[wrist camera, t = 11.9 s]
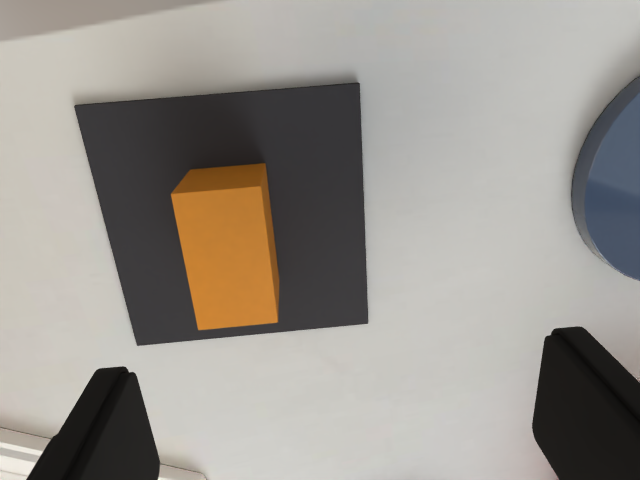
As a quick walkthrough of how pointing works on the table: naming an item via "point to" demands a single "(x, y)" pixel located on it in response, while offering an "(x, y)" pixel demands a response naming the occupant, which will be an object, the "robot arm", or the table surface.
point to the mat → (232, 150)
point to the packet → (228, 245)
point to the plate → (612, 184)
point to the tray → (24, 451)
